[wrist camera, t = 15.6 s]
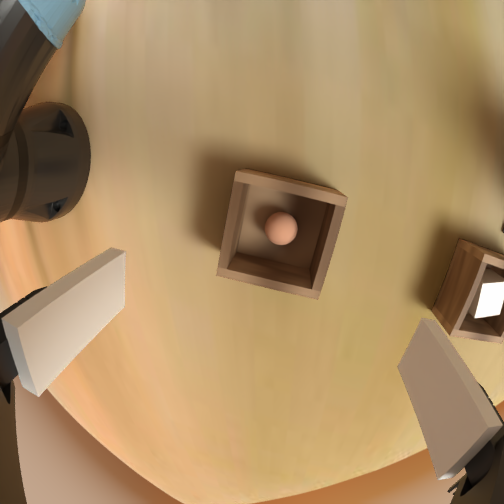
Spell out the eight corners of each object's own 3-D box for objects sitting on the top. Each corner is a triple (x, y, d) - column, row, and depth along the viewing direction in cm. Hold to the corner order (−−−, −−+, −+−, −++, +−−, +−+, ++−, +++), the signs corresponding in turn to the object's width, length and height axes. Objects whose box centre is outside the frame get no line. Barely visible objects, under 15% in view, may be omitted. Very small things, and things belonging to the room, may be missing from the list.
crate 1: (228, 255, 31) (216, 275, 26) (246, 168, 28) (235, 170, 23) (314, 275, 31) (318, 299, 26) (337, 190, 28) (347, 197, 23)
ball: (263, 236, 30) (260, 244, 27) (269, 206, 29) (267, 211, 26) (293, 243, 29) (293, 252, 27) (300, 213, 28) (301, 219, 26)
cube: (459, 302, 29) (474, 318, 25) (465, 270, 28) (482, 283, 24) (483, 299, 28) (499, 314, 24) (490, 268, 27) (508, 281, 23)
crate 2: (431, 311, 30) (449, 335, 25) (459, 238, 27) (484, 253, 22) (481, 321, 30) (501, 343, 24) (508, 256, 27) (533, 272, 22)
